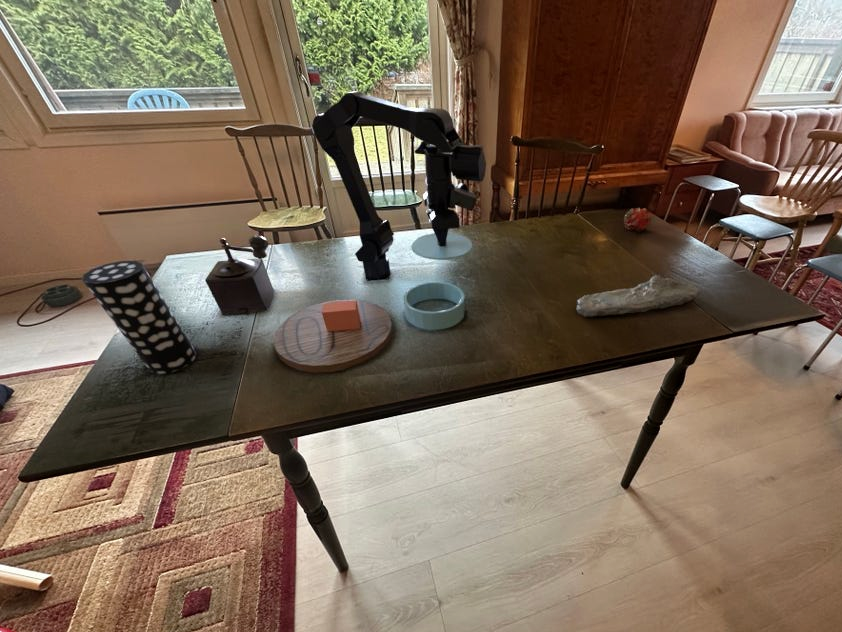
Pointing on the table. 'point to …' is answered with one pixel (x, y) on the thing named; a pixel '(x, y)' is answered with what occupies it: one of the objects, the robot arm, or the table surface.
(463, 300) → the pot
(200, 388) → the table surface
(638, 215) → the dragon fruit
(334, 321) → the orange rectangular block
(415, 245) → the lid
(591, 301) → the long grey stone
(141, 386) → the table surface
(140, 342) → the spotted tube
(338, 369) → the trivet
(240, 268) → the manual coffee grinder
